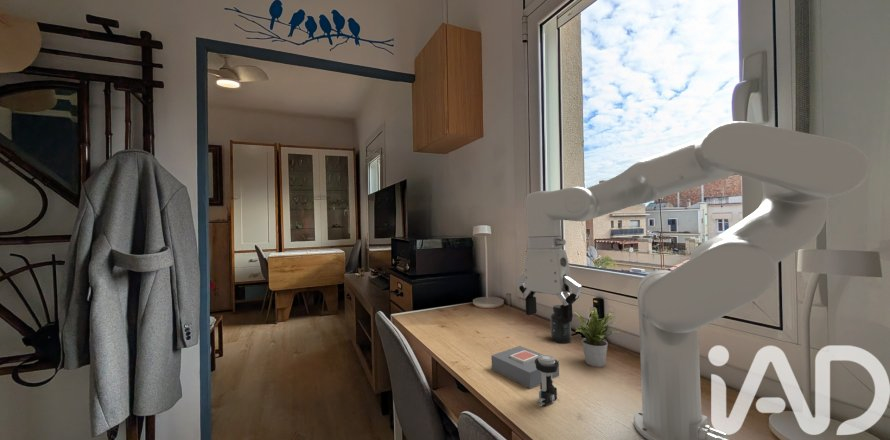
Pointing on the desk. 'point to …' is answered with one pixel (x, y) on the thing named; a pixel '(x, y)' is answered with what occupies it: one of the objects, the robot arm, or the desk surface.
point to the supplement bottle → (559, 327)
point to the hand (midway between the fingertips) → (548, 318)
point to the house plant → (595, 338)
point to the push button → (546, 379)
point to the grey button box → (519, 368)
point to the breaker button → (524, 357)
